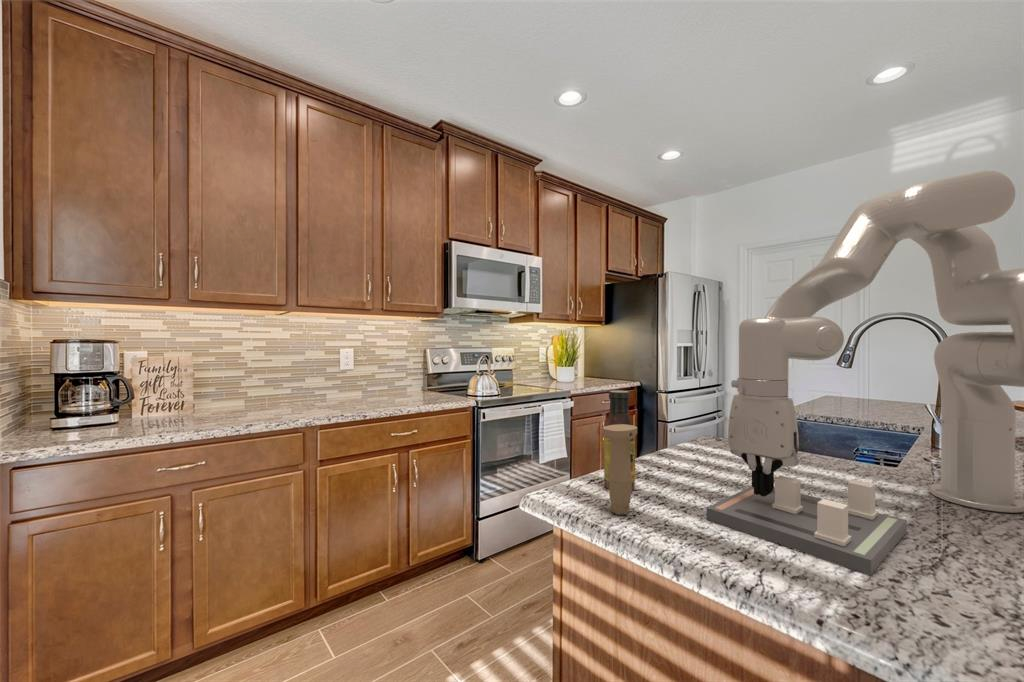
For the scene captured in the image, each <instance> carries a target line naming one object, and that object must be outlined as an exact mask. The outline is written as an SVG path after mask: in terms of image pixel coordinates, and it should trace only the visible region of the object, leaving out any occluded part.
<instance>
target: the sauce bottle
mask: <svg viewBox="0 0 1024 682" xmlns="http://www.w3.org/2000/svg"><path fill="white" fill-rule="evenodd" d="M608 399H609V414H608V416H607V417H606V419H605V422H604V426H603V427H605V426H609V425H617V424H626V425H632V426H634V424H633V423H634V422H633V421H632V418H631V415H630V412H629V411H630V410H629V399H630V392H629V391H628V390H619V389H618V390H609V391H608ZM610 448H611V443H610V439H608V438H607V437H605V436H604V435H603V471H604V472H603V473H604V474H603V478H604V486H605V487H606V488H607V489H608V490H609V467H610ZM630 462H631V478H632V487H631V488H632V490H631V491H633V490H634V489H635V485H636V482H635V481H636V436H635V437H634V438H632V439H631V440H630Z"/></svg>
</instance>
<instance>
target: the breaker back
mask: <svg viewBox="0 0 1024 682" xmlns="http://www.w3.org/2000/svg"><path fill="white" fill-rule="evenodd" d="M847 505H848V514H852V515H856V516H859V517H863V518H867V519H871V520H873V519H874V518H876V517H877V516H878V513H879V511H877V510H876V483H870V482H867V481H862V480H856V479H851V480H849V481H848V482H847Z"/></svg>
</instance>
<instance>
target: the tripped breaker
mask: <svg viewBox="0 0 1024 682" xmlns="http://www.w3.org/2000/svg"><path fill="white" fill-rule="evenodd" d="M801 481H802V480H801V479H799V478H794V477H789V476H784V475H779V476H776V477H774V487H775V503H773V504H772V508H775V509H779V510H782V511H786V512H790V513H793V514H798V513H799V512H801V511H802V510H803V506H801V494H802V491H801V489H802V487H801V486H802V485H801V484H802V482H801Z"/></svg>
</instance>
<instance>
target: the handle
mask: <svg viewBox="0 0 1024 682" xmlns="http://www.w3.org/2000/svg"><path fill="white" fill-rule="evenodd" d="M604 426H605V425H604ZM604 426H603V427H602V435H603V437H604V436H605V437H607V438H608V439H610V443H611V448H610V467H609V489H608V493H609V502H610V503H611V504H610V510H611V513H613V514H616V515H618V516H620V515H621V516H622V515H625V516H626V515H629V511H630V505H631V499H632V491H633V490H632V488H631V487H632V478H631V462H630V440H631V439H632V438H634V437H635V438H636V436H637V435H638V427H637V426H636V425H633V426H632V425H626V424H617V425H609V426H605V427H604Z"/></svg>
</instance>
